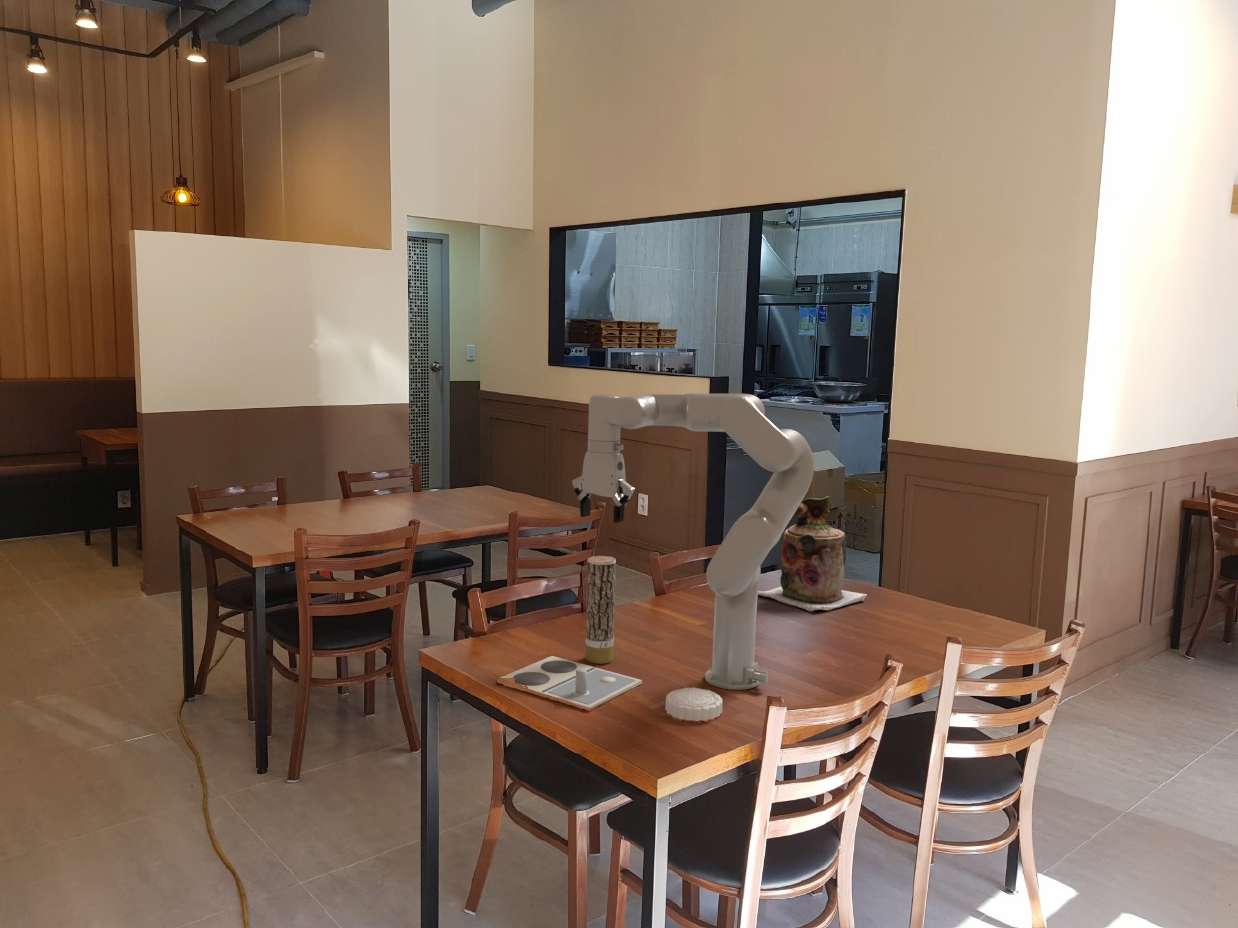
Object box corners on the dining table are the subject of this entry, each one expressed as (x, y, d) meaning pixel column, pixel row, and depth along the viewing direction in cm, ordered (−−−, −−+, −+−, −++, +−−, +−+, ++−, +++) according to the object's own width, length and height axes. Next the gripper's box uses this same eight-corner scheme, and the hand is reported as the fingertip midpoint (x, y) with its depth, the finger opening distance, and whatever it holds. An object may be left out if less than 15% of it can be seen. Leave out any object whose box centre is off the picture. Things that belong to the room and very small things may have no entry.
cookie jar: (805, 583, 309) (810, 485, 304) (869, 601, 290) (875, 497, 286) (753, 595, 293) (757, 492, 289) (817, 615, 274) (823, 505, 270)
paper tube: (580, 661, 231) (582, 560, 227) (593, 653, 237) (596, 554, 233) (604, 666, 228) (607, 563, 224) (618, 658, 234) (620, 558, 230)
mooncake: (654, 714, 201) (655, 697, 200) (683, 697, 211) (683, 681, 210) (705, 728, 194) (705, 711, 194) (732, 709, 204) (732, 693, 204)
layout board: (642, 684, 217) (642, 658, 216) (589, 711, 201) (590, 683, 200) (552, 659, 232) (552, 635, 231) (496, 683, 215) (496, 657, 214)
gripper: (643, 449, 223) (640, 521, 226) (583, 442, 233) (581, 511, 235) (625, 452, 217) (622, 526, 220) (564, 445, 227) (563, 516, 229)
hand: (601, 518), depth 228 cm, fingers open, 9 cm apart
